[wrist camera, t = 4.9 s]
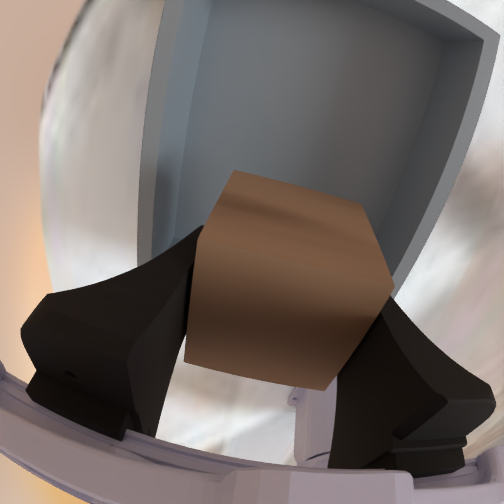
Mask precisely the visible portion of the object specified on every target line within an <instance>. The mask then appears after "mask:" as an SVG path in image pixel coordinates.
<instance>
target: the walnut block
mask: <svg viewBox="0 0 504 504" xmlns="http://www.w3.org/2000/svg"><path fill="white" fill-rule="evenodd" d="M394 288H395V285H394V283H393V280H392V277H391V275H390V272H389V269H388V267H387V264H386V261H385V259H384V256H383V254H382V251H381V249H380V246H379V244H378V241H377V239H376V237H375V234H374V232H373V229H372V227H371V225H370V222H369V220H368V218H367V216H366V213H365V211H364V209H363V206H362V204H360V203H356V202H353V201H350V200H347V199H343V198H340V197H336V196H333V195H330V194H326V193H323V192H319V191H316V190H312V189H308V188H305V187H301V186H297V185H294V184H290V183H286V182H282V181H278V180H274V179H270V178H266V177H262V176H258V175H254V174H250V173H246V172H242V171H237V170H234V171H233V172H232V174H231V176H230V178H229V180H228V182H227V184H226V185H225V187H224V189H223V191H222V193H221V195H220V197H219V199H218V200H217V202H216V204H215V206H214V208H213V210H212V212H211V214H210V216H209V218H208V220H207V222H206V223H205V225H204V227H203V229H202V231H201V233H200V235H199V237H198V241H197V249H196V256H195V264H194V271H193V279H192V288H191V296H190V305H189V314H188V323H187V333H186V343H185V354H184V362H186V363H189V364H193V365H197V366H201V367H204V368H208V369H212V370H216V371H221V372H225V373H229V374H233V375H238V376H242V377H247V378H252V379H256V380H261V381H266V382H272V383H277V384H282V385H288V386H294V387H300V388H306V389H312V390H319V391H325V390H326V389H327V387H328V386H329V385H330V384H331V382H332V381H333V380H334V378H335V377H336V376H337V374H338V373H339V371H340V370H341V369H342V367H343V366H344V365H345V363H346V362H347V360H348V359H349V358H350V356H351V355H352V353H353V352H354V350H355V349H356V348H357V346H358V345H359V343H360V342H361V340H362V339H363V337H364V336H365V334H366V333H367V331H368V330H369V328H370V327H371V325H372V324H373V322H374V320H375V319H376V317H377V316H378V314H379V313H380V311H381V309H382V308H383V306H384V305H385V303H386V301H387V300H388V298H389V296H390V295H391V293H392V291H393V290H394Z"/></svg>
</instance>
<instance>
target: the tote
mask: <svg viewBox="0 0 504 504" xmlns="http://www.w3.org/2000/svg"><path fill="white" fill-rule="evenodd" d="M499 39H500V35H499V34H498V33H497V32H495V31H494V30H493V29H491V28H490V27H488V26H487V25H485V24H484V23H482V22H481V21H479V20H478V19H476V18H475V17H473V16H472V15H470V14H469V13H467V12H465V11H464V10H462V9H460V8H459V7H457V6H455V5H454V4H452V3H450V2H448V1H447V0H165V4H164V9H163V13H162V17H161V22H160V27H159V32H158V36H157V42H156V47H155V52H154V58H153V64H152V70H151V76H150V83H149V89H148V97H147V104H146V112H145V121H144V130H143V140H142V152H141V164H140V179H139V199H138V234H137V266H138V267H139V266H141V265H143V264H145V263H146V262H148V261H150V260H152V259H153V258H155V257H157V256H158V255H160V254H161V253H163V252H165V251H166V250H168V249H169V248H171V247H172V246H173V245H175V244H176V243H178V242H179V241H181V240H182V239H183V238H185V237H186V236H187V235H189V234H190V233H191V232H193V231H194V230H195V229H196V228H198V227H199V226H201V225H205V223H206V222H207V220H208V218H209V216H210V214H211V212H212V210H213V208H214V206H215V204H216V202H217V200H218V199H219V197H220V195H221V193H222V191H223V189H224V187H225V185H226V184H227V182H228V180H229V178H230V176H231V174H232V172H233V171H234V170H237V171H242V172H246V173H250V174H254V175H258V176H262V177H266V178H270V179H274V180H278V181H282V182H286V183H290V184H294V185H297V186H301V187H305V188H308V189H312V190H316V191H319V192H323V193H326V194H330V195H333V196H336V197H340V198H343V199H347V200H350V201H353V202H356V203H360V204H362V206H363V209H364V211H365V213H366V216H367V218H368V220H369V222H370V225H371V227H372V229H373V232H374V234H375V237H376V239H377V241H378V244H379V246H380V249H381V251H382V254H383V256H384V259H385V261H386V264H387V267H388V269H389V272H390V275H391V277H392V280H393V283H394V285H395V288H394V290H393V291H392V293H391V297H392V298H393V299H394V298H395V296H396V295H397V293H398V291H399V290H400V288H401V286H402V285H403V283H404V281H405V280H406V278H407V276H408V274H409V273H410V271H411V269H412V267H413V266H414V264H415V262H416V260H417V258H418V256H419V255H420V253H421V251H422V249H423V247H424V245H425V243H426V241H427V240H428V238H429V236H430V234H431V232H432V230H433V228H434V226H435V224H436V222H437V220H438V218H439V215H440V213H441V211H442V209H443V207H444V205H445V203H446V201H447V198H448V196H449V194H450V192H451V189H452V187H453V185H454V182H455V180H456V178H457V175H458V173H459V171H460V168H461V166H462V163H463V161H464V158H465V156H466V153H467V150H468V148H469V145H470V142H471V139H472V137H473V134H474V131H475V128H476V125H477V122H478V119H479V116H480V113H481V110H482V107H483V103H484V100H485V97H486V93H487V90H488V86H489V83H490V79H491V75H492V71H493V67H494V63H495V58H496V54H497V49H498V44H499Z"/></svg>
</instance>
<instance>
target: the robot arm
mask: <svg viewBox="0 0 504 504" xmlns="http://www.w3.org/2000/svg"><path fill="white" fill-rule="evenodd" d="M203 227H204V225H201V226H199V227H198V228H196V229H195V230H194V231H193V232H191V233H190V234H189V235H187V236H186V237H185V238H183V239H182V240H181V241H179V242H178V243H176V244H175V245H173V246H172V247H171V248H169V249H168V250H166V251H165V252H163V253H161V254H160V255H158V256H157V257H155V258H153V259H152V260H150V261H148V262H146V263H145V264H143V265H141V266H139V267H137V268H134V269H132V270H130V271H128V272H125V273H123V274H120V275H118V276H115V277H113V278H110V279H107V280H105V281H101V282H98V283H95V284H92V285H88V286H84V287H81V288H76V289H72V290H67V291H61V292H56V293H50V294H47V295H46V296H45V297H44V298H43V299H42V301H41V302H40V303H39V304H38V306H37V307H36V308H35V309H34V311H33V312H32V313H31V315H30V316H29V317H28V319H27V320H26V321H25V323H24V324H23V326H22V328H21V339H22V342H23V345H24V347H25V349H26V351H27V353H28V355H29V357H30V359H31V361H32V363H33V365H34V367H35V368H36V370H37V371H36V372H35V374H34V376H33V377H32V379H31V381H30V383H29V384H27V383H25V382H23V381H22V380H20V379H18V378H17V377H15V376H13V375H11V374H10V373H8V372H6V369H5V367H4V365H3V364H2V362H1V361H0V453H2V454H3V455H5V456H6V457H8V458H9V459H10V460H12V461H13V462H15V463H16V464H18V465H20V466H21V467H23V468H24V469H26V470H27V471H29V472H31V473H32V474H34V475H36V476H38V477H39V478H41V479H43V480H44V481H46V482H48V483H50V484H52V485H53V486H55V487H57V488H59V489H61V490H63V491H65V492H67V493H69V494H71V495H73V496H75V497H77V498H79V499H81V500H83V501H85V502H88V503H90V504H504V445H501V446H496V447H493V448H490V449H488V450H486V451H485V452H483V453H481V454H480V455H479V456H477V458H473V459H467V460H464V455H463V449H462V447H465V446H466V445H467V440H466V435H468V434H469V433H470V432H472V431H473V430H474V429H476V428H477V427H478V426H480V425H481V424H482V423H483V422H485V421H486V420H487V419H488V418H489V417H490V416H491V415H492V413H493V412H494V410H495V407H496V401H495V398H494V395H493V392H492V389H491V387H490V385H489V384H487V383H486V382H484V381H483V380H481V379H479V378H478V377H476V376H475V375H473V374H471V373H470V372H468V371H467V370H466V369H464V368H463V367H462V366H460V365H459V364H457V363H456V362H455V361H454V360H452V359H451V358H450V357H449V356H447V355H446V354H445V353H444V352H443V351H442V350H440V349H439V348H438V347H437V346H436V345H435V344H434V343H433V342H432V341H430V340H429V339H428V338H427V337H426V336H425V335H424V334H423V333H422V332H421V331H420V329H419V328H418V327H417V326H416V325H415V324H414V323H413V322H412V321H411V320H410V319H409V317H408V316H407V315H406V314H405V313H404V312H403V310H402V309H401V308H400V307H399V306H398V304H397V303H396V302H395V301H394V299H393V298H392V297H391V295H390V296H389V298H388V300H387V301H386V303H385V305H384V306H383V308H382V309H381V311H380V313H379V314H378V316H377V317H376V319H375V320H374V322H373V324H372V325H371V327H370V328H369V330H368V331H367V333H366V334H365V336H364V337H363V339H362V340H361V342H360V343H359V345H358V346H357V348H356V349H355V350H354V352H353V353H352V355H351V356H350V358H349V359H348V360H347V362H346V363H345V365H344V366H343V367H342V369H341V370H340V371H339V373H338V374H337V376H336V377H335V378H334V380H333V381H332V382H331V384H330V385H329V386H328V387H327V389H326V390H325V391H319V390H312V389H306V388H300V387H296V388H295V390H294V391H293V393H292V394H291V396H290V397H289V399H288V401H287V403H288V404H289V405H292V406H296V419H295V438H294V457H295V460H296V462H297V466H289V465H280V464H272V463H264V462H257V461H251V460H245V459H239V458H234V457H228V456H223V455H219V454H214V453H209V452H205V451H201V450H196V449H192V448H188V447H185V446H181V445H177V444H174V443H170V442H166V441H163V440H160V439H156V438H155V436H156V432H157V428H158V424H159V420H160V416H161V412H162V408H163V405H164V401H165V397H166V393H167V390H168V386H169V383H170V380H171V376H172V373H173V369H174V366H175V363H176V360H177V356H178V353H179V350H180V347H181V345H182V342H183V340H184V337H185V335H186V333H187V323H188V314H189V305H190V296H191V288H192V279H193V271H194V264H195V256H196V249H197V241H198V237H199V235H200V233H201V231H202V229H203Z"/></svg>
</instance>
